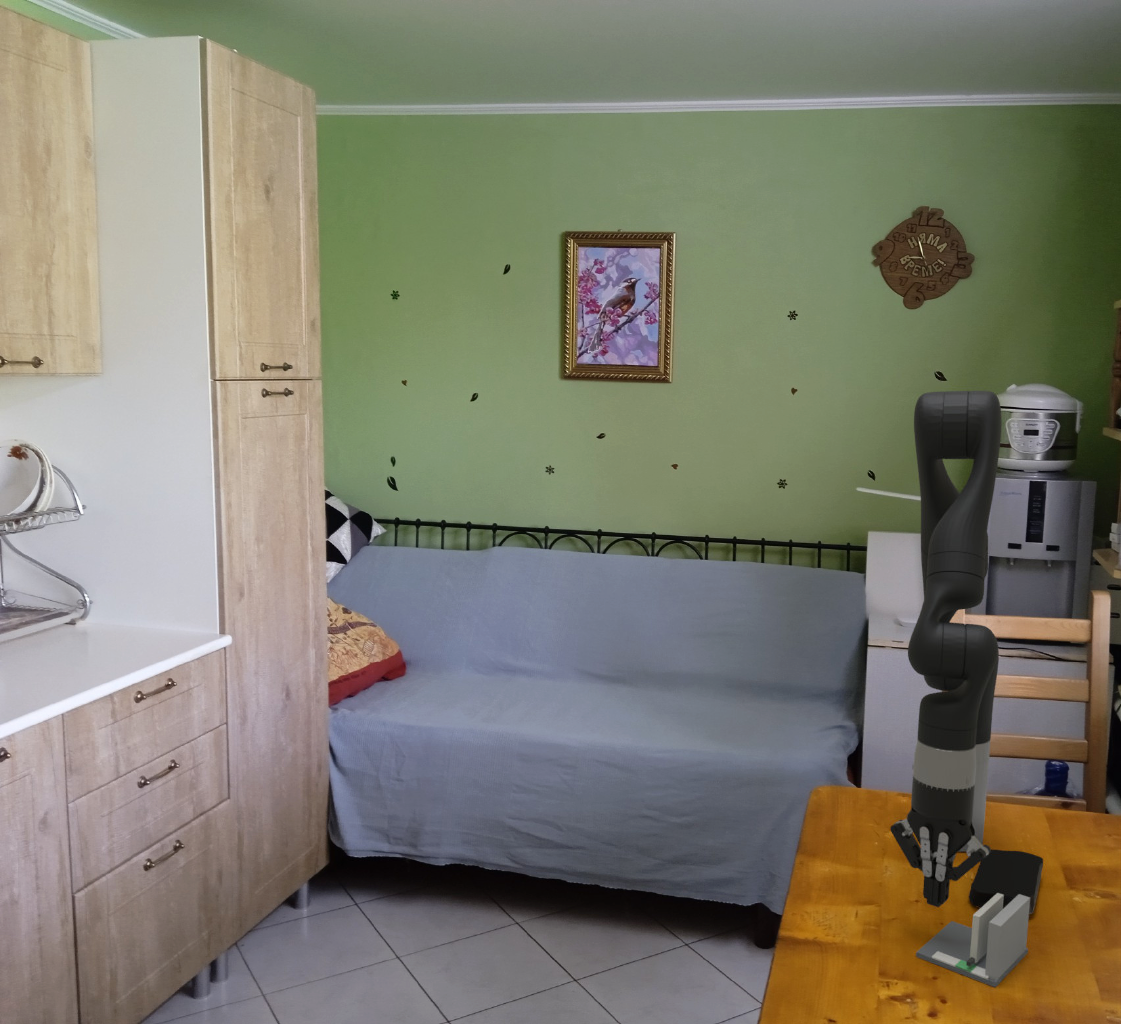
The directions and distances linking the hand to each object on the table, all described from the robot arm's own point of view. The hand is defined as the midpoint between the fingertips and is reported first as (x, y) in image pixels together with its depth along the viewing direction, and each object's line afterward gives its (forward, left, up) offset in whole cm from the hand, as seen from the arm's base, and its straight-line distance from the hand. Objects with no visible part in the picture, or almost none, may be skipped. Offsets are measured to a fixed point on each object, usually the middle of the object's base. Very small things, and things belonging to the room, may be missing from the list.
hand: (934, 903), depth 143 cm
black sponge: (-20, +2, -6) cm, 21 cm away
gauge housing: (0, +5, -5) cm, 7 cm away
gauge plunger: (+1, +7, -4) cm, 8 cm away
